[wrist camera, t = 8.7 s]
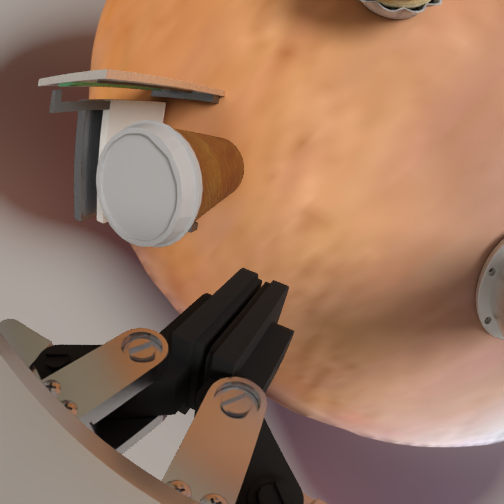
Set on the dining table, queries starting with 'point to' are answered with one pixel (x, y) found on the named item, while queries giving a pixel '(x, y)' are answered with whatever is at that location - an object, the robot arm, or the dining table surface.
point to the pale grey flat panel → (111, 118)
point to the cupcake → (399, 7)
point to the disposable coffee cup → (163, 180)
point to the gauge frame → (92, 122)
